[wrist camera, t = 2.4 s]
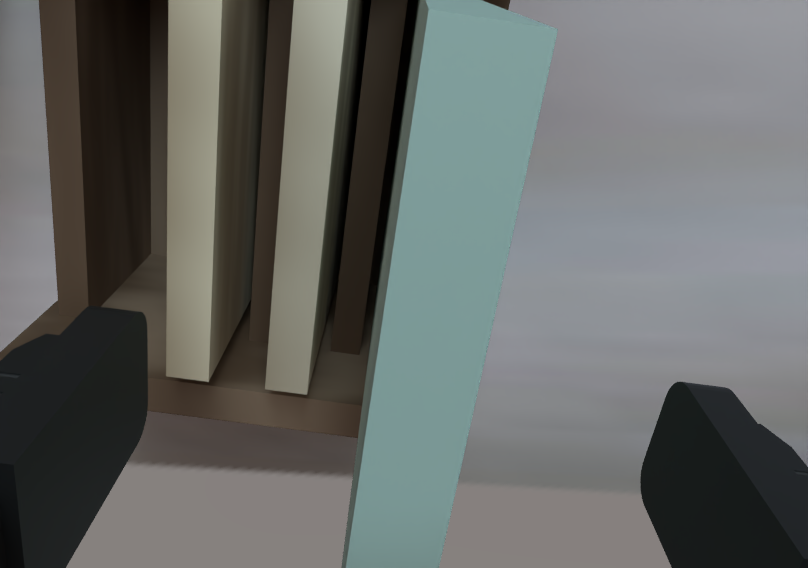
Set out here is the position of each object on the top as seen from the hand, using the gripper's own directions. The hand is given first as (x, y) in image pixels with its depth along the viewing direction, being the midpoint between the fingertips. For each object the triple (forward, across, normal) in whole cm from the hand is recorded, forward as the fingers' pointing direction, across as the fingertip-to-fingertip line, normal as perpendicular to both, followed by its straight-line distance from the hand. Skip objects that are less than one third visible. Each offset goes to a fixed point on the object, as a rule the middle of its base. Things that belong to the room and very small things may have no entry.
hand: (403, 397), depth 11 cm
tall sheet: (+18, 0, 0) cm, 18 cm away
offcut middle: (+18, +3, 0) cm, 18 cm away
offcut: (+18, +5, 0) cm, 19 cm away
